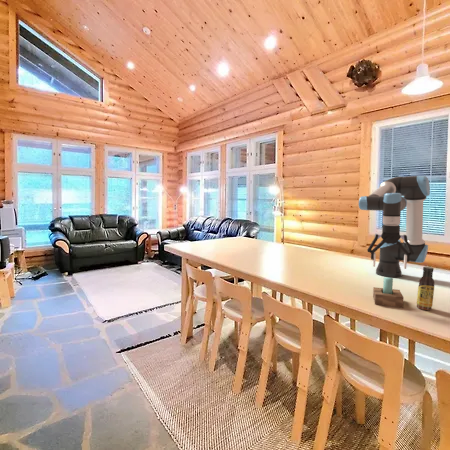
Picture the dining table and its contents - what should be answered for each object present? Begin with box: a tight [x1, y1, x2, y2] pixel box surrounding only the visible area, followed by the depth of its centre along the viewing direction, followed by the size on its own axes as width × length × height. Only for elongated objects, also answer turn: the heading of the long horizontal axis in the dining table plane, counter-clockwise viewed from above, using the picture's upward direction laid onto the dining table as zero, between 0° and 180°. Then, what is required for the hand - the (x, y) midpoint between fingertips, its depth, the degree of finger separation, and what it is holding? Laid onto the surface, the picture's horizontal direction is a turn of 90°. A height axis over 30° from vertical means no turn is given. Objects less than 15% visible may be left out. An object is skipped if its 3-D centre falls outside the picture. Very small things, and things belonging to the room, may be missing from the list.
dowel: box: [382, 276, 394, 294], centre depth 153 cm, size 4×4×12 cm
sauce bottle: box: [416, 266, 435, 311], centre depth 143 cm, size 6×6×20 cm
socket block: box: [372, 287, 404, 308], centre depth 153 cm, size 12×12×5 cm
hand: (389, 267), depth 152 cm, fingers open, 13 cm apart
